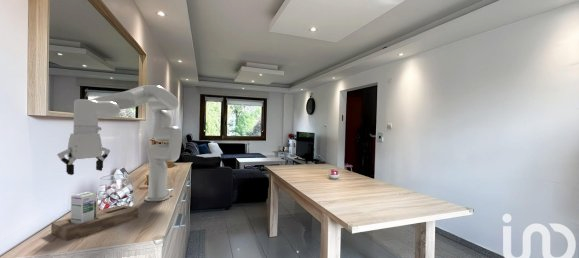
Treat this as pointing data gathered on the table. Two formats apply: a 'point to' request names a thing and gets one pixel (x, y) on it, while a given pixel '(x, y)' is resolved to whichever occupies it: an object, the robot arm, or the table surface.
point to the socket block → (94, 222)
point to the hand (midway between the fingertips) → (85, 172)
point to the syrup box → (83, 207)
